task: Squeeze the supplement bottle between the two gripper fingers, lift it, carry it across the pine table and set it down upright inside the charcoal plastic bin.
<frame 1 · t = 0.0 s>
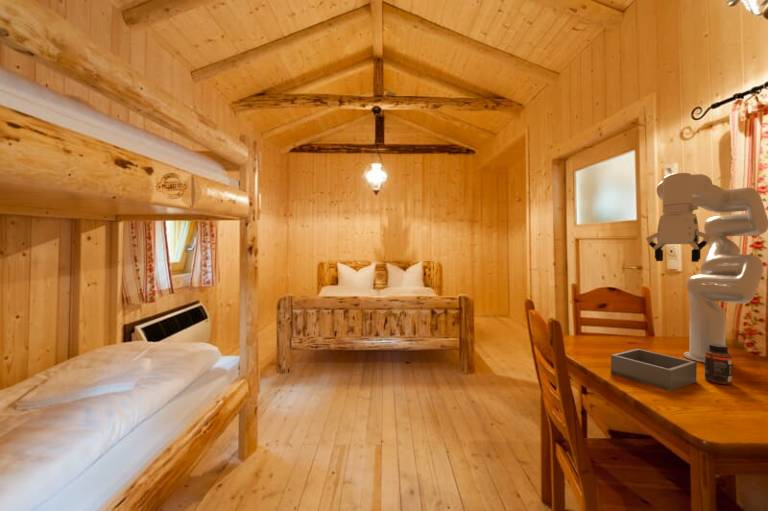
hand: (676, 261, 111), 37 cm above the table, tool pointing down, fingers open, 9 cm apart
bin: (652, 377, 105), on the table
supplement bottle: (718, 382, 101), on the table
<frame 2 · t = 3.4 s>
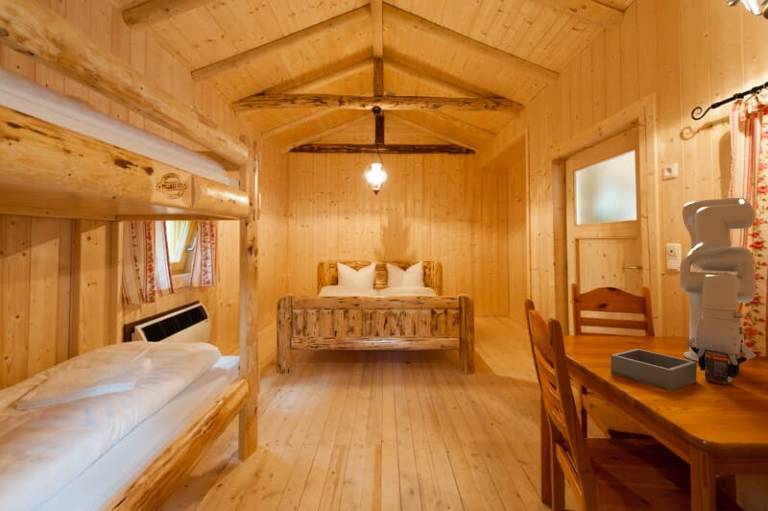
hand: (718, 372, 101), 3 cm above the table, tool pointing down, fingers closed on supplement bottle, 6 cm apart
supplement bottle: (718, 382, 101), on the table, touching gripper
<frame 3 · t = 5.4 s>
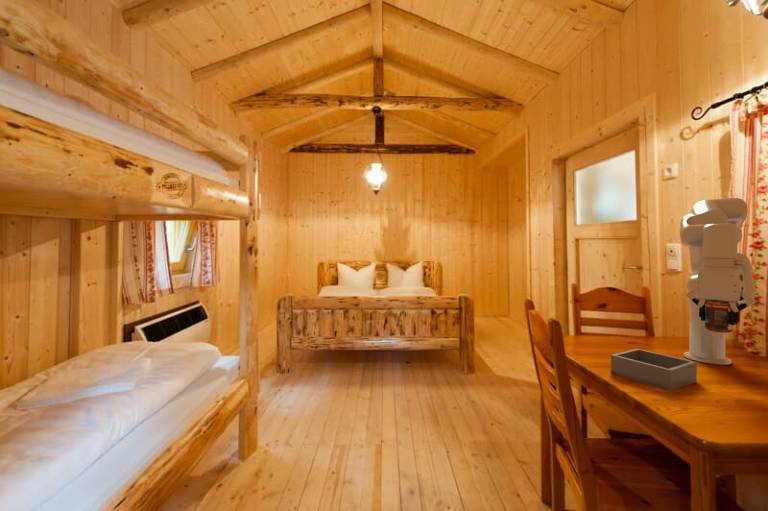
hand: (718, 321, 102), 18 cm above the table, tool pointing down, fingers closed on supplement bottle, 6 cm apart
supplement bottle: (718, 331, 102), point 15 cm above the table, touching gripper
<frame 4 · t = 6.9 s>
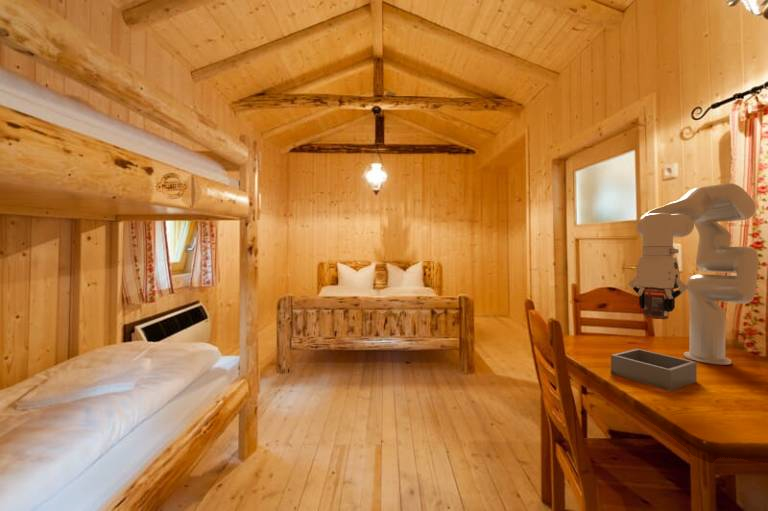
hand: (656, 309, 104), 22 cm above the table, tool pointing down, fingers closed on supplement bottle, 6 cm apart
supplement bottle: (656, 318, 104), point 19 cm above the table, touching gripper
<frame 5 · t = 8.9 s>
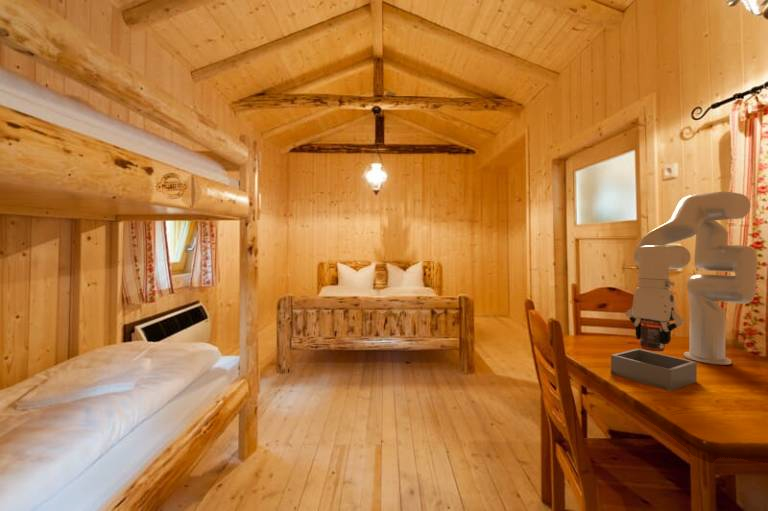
hand: (652, 340, 105), 12 cm above the table, tool pointing down, fingers closed on supplement bottle, 6 cm apart
supplement bottle: (652, 349, 105), point 9 cm above the table, touching gripper
when the fingers open (5 cm above the table, at t = 10.7 s): supplement bottle drops 1 cm, resting on bin.
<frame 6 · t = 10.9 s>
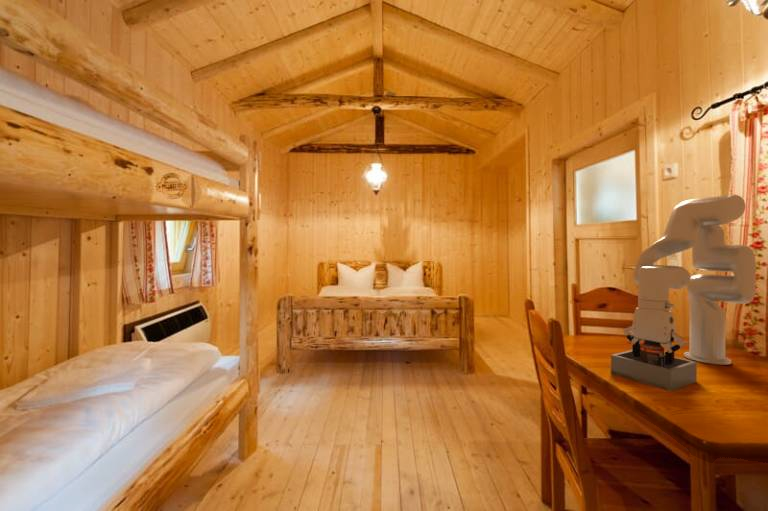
hand: (652, 360, 105), 5 cm above the table, tool pointing down, fingers open, 8 cm apart
supplement bottle: (652, 374, 105), point 1 cm above the table, touching bin
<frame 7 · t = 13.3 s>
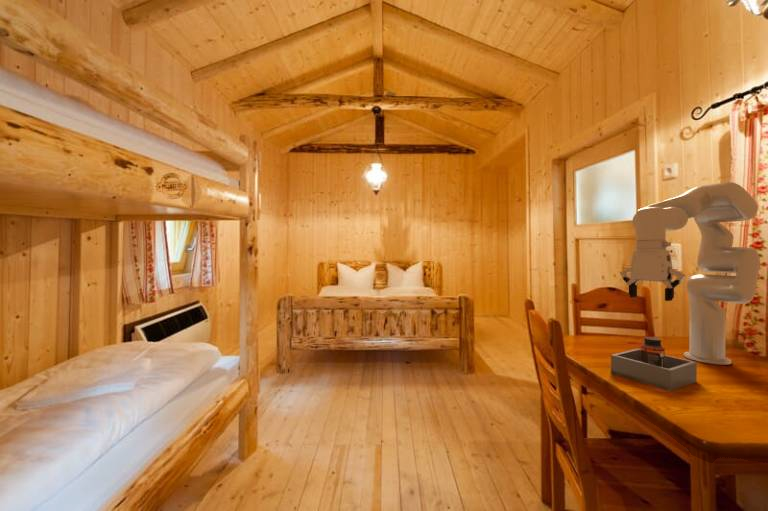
hand: (650, 298, 107), 25 cm above the table, tool pointing down, fingers open, 9 cm apart
nothing on the table moved.
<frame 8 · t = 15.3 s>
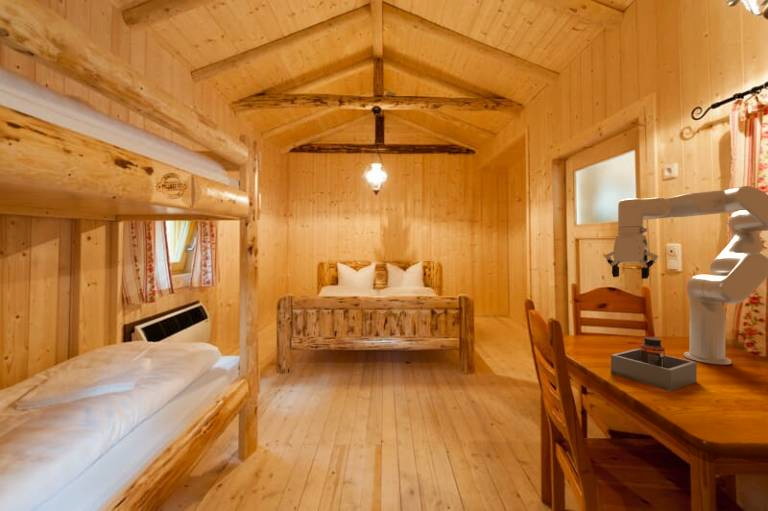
hand: (629, 277, 124), 30 cm above the table, tool pointing down, fingers open, 9 cm apart
nothing on the table moved.
at the end: supplement bottle inside the target area on the bin (0.2 cm from its centre), point 0.8 cm above the bin's base; supplement bottle tilted 0°; the gripper is holding nothing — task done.
